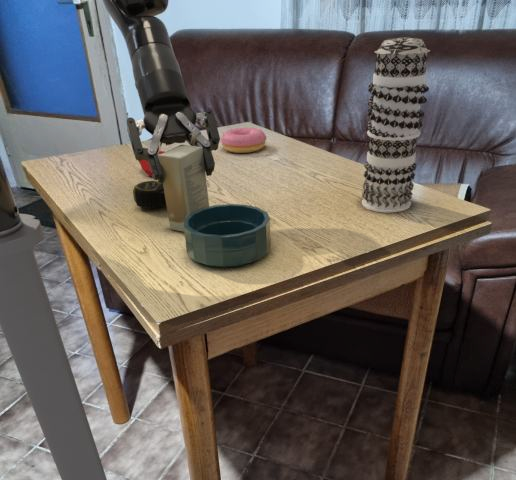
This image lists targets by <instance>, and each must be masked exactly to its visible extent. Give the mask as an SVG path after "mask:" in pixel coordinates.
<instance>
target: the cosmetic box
mask: <svg viewBox="0 0 516 480" xmlns="http://www.w3.org/2000/svg"><path fill="white" fill-rule="evenodd" d="M158 156H159V162H160V165H161V168H162V172H163V176H164V181H163V187H164V193H165V199H166V205H167V206H166V211H167V218H168V223H169V229H170V230H173V231H178V232H183V233H185V232H184V221H183V220H184V219H185V218H186V217H187V216H188V215H189V214H191V213H193V212H195V211H197V210H199V209H202V208H206V207H210V202H209V191H208V183H207V175H206V172H205V165H204V156H203V147H198V146H191V145H190V144H179V145H178V146H175V147H173V148H171V149H169V150H166V151H164V153H162V154H160V155H158Z"/></svg>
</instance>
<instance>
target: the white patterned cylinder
mask: <svg viewBox="0 0 516 480" xmlns="http://www.w3.org/2000/svg"><path fill="white" fill-rule="evenodd" d="M429 52H431V50H430V49H428V48H427V46H426V43H425V41H424V40H423V39H421V38H419V37H393V38H387V39H385V40H383V41H382V43H381V44H380V46H379V47H378V49H377V50H375V51H374V53H375V54H376V55H375V66H374V67H375V69H374V73H373V75H372V76H373V77H372V82H371V83H369V84H368V88H367V91H368V92H369V93H370V95H371V96H370V97H369V98H368V99H367V105H368V107H369V108H368V109H367V113H366V115H367V116H368V118H369V121H367V124H366V125H367V126H366V128H367V131H366V135H367V136H368V137H369V142H368V151H367V152H366V161H365V163H364V165H363V167H364V169H365V171H364V174H363V177H364V178H365V180H364V181H363V182H362V188H363V190H362V193H361V197H362V198H363V199H362V200H361V205H362V207H363V208H365V209H367V210H368V211H369V210H370V211H371V212H377V213H385V214H387V213H399V212H404V211H406V210H408V209H410V207H411V206H412V202H411V200H412V198H413V192H412V191H413V190H414V186H415V183H413V181H412V180H414V179H415V176H416V173H415V172H413V171H415V170H416V168H417V163H415V162H416V156H417V152H416V147H417V138H419V137H420V136H421V133H422V132H421V129H420V128H422V127H423V122H422V121H420V119H421V118H422V117H425V112H424V111H423V110H422V109H421V105H424V104H425V103H427V101H428V99H427V98H426V97H425V95H423V94H426V93H428V92H429V90H430V87H429V86H428V85H426V81H427V71H426V69H427V62H428V55H429Z"/></svg>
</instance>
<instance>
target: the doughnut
mask: <svg viewBox="0 0 516 480" xmlns="http://www.w3.org/2000/svg"><path fill="white" fill-rule="evenodd" d="M266 141H267V136H266V133H265V132H264V131H263V130H262V129H261V128H255V127H237V128H236V127H235V128H231V129H227V130H226V131H225V132H224V133H223V134H222V135H221V137H220V142H221V146H222V148H223V149H224V150H225V151H227V152H230V153H236V154H246V153H253V152H257V151H260V150H261V149H263V148H264V147H265V145H266V143H267V142H266Z"/></svg>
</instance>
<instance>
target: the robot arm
mask: <svg viewBox="0 0 516 480" xmlns="http://www.w3.org/2000/svg"><path fill="white" fill-rule="evenodd" d="M169 1H170V0H102V2H103V4H104V6H105V9H106V11H107V12H108V14H109V16H110V18H111V19H112V21H113V22H114V24H115V25H116V26H117V28H118V29H119V31H120V34H121V35H122V37H123V39H124V42H125V45H126V48H127V51H128V55H129V58H130V62H131V66H132V74H133V79H134V86H135V89H136V91H137V94H138V97H139V100H140V105H141V109H142V112H143V115H144V116H143V119H138V120H135V118H133V117H132V116H131V117H128V118H127V119H126V130H127V134H128V138H129V141H130V144H131V148H132V151H133V155H134V158H135V160H136V161H138V162H139V161H141V160H146V161H148V162H149V165H150V169H151V172H152V176H151V177H152V178H153V181H158V183H163V181H164V176H163V172H162V168H161V165H160V162H159V157H158V152H159V151H161V149H162V146H163V144H165V146H170V145H171V146H172V145H173V144H184V143H185V144H186V143H187V144H188V145H189V146H198V147H203V156H204V165H205V174H206V177H209V176H212V174H213V172H215V167H216V162H215V159H214V155H213V153H212V151H217V150H218V149H219V144H220V142H221V137H220V133H219V128H218V125H217V122H216V118H215V115H214V111H213V109H212V108H210V107H208V108H207V107H206V109H205V111H203V112H196V111H195V110H194V109H193V108H192V105H191V102H190V99H189V96H188V92H187V89H186V86H185V82H184V78H183V75H182V71H181V68H180V65H179V62H178V59H177V58H176V55H175V52H174V49H173V45H172V42H171V38H170V34H169V32H168V29H167V27H166V24H165V23H164V21H162V20H161V19H160V18H158V17H157V16H158V15H161V14H163V13H164V12H166V10H167V9H168V6H169ZM197 123H200V126H202V128H204V129H205V131H206V135H207V138H206V137H205V136H204V135H203V133H202V132H201V130H200V129H199V128H198V127H197V126H196V124H197ZM144 129H145V131H147V133H149V135H151V139H150V143H149V146H148V147H143V144H142V141H141V140H142V139H141V138H140V137H141V135H142V133H143V130H144ZM5 169H6V168H5V166H4V163H3V160H2V156H0V238H1V237H4V236H8V235H10V234H13V233H15V232H16V231H18V230H19V229H21V228H22V226H23V223H22V220H21V218H20V215H19V214H20V211H19V206H18V203H17V202H16V200H15V197H14V194H13V191H12V188H11V184H10V181H9V177H8V175H7V173H6V170H5Z"/></svg>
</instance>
